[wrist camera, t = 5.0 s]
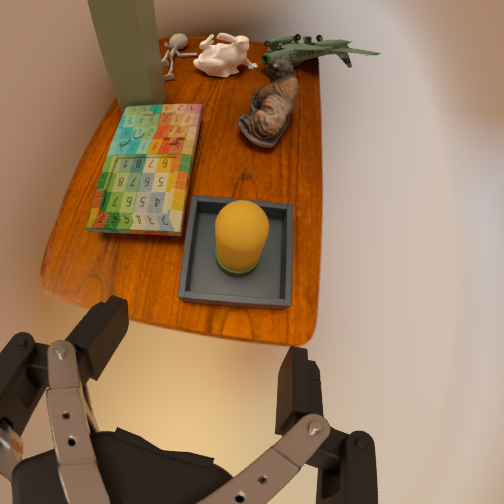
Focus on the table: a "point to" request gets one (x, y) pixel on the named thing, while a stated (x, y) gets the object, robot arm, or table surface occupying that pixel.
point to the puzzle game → (147, 171)
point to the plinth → (130, 50)
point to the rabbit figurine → (223, 55)
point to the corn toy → (240, 237)
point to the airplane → (308, 49)
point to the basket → (227, 287)
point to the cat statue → (271, 105)
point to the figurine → (175, 43)
